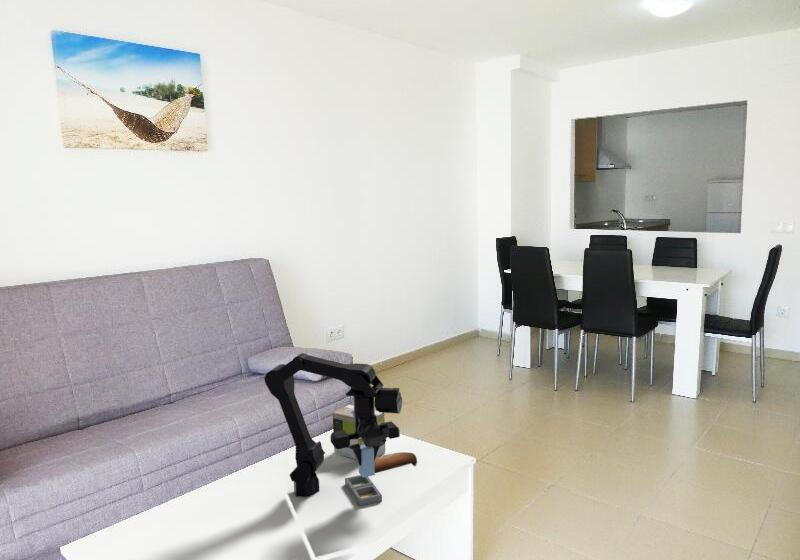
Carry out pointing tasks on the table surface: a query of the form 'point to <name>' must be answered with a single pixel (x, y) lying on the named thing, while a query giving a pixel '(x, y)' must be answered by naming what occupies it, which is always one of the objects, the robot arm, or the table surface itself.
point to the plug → (366, 461)
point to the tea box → (352, 428)
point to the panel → (363, 490)
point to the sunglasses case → (393, 460)
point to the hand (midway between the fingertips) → (366, 463)
